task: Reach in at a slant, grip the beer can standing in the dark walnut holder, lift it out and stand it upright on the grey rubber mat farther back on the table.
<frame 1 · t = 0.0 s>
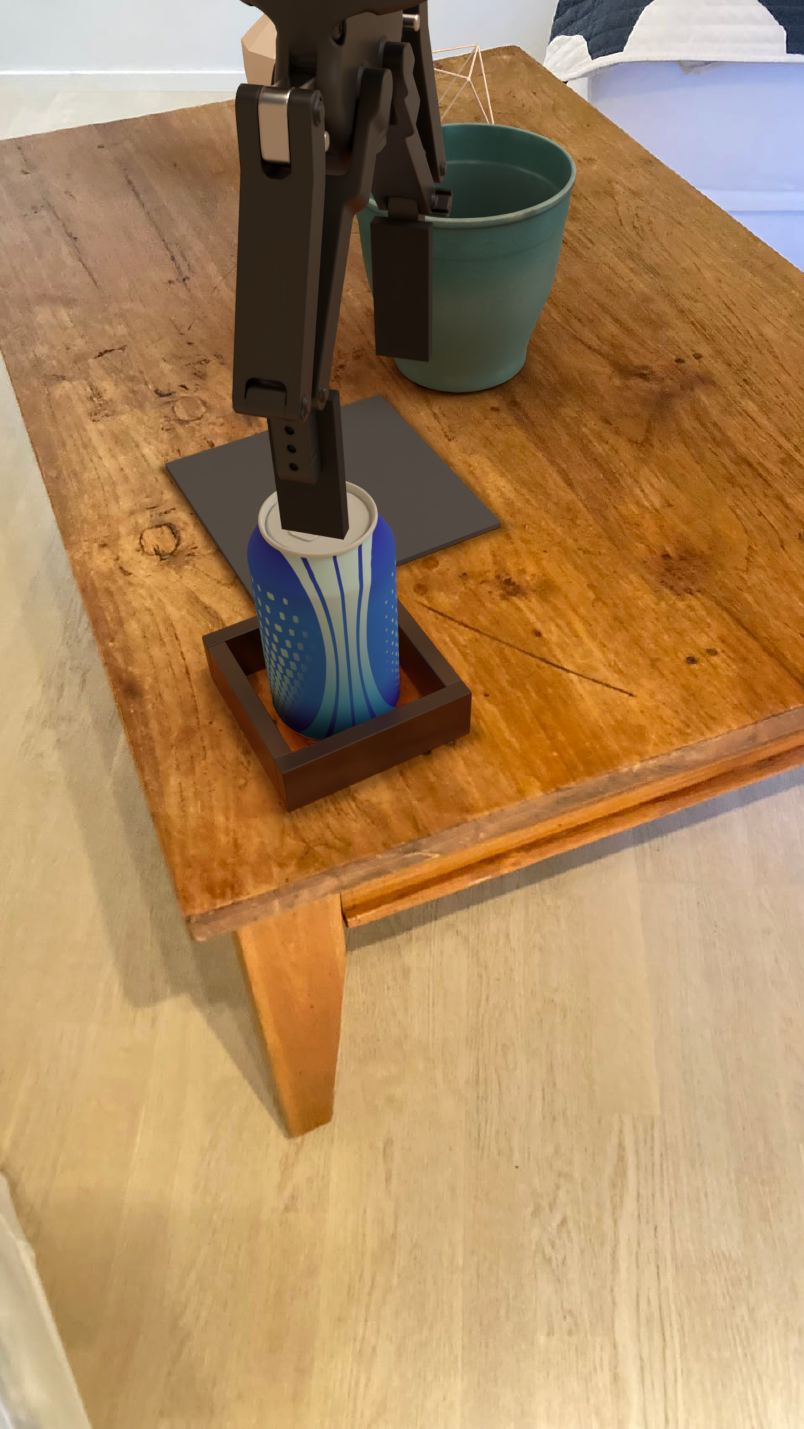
hand: (363, 435, 48), 25 cm above the table, tool pointing down, fingers open, 13 cm apart
rubber mat: (327, 496, 84), on the table
flower pot: (457, 361, 97), on the table
beer can: (337, 706, 70), resting in can holder
vase: (318, 175, 123), on the table
geometric polyhedron: (445, 144, 128), on the table
can holder: (337, 704, 70), on the table
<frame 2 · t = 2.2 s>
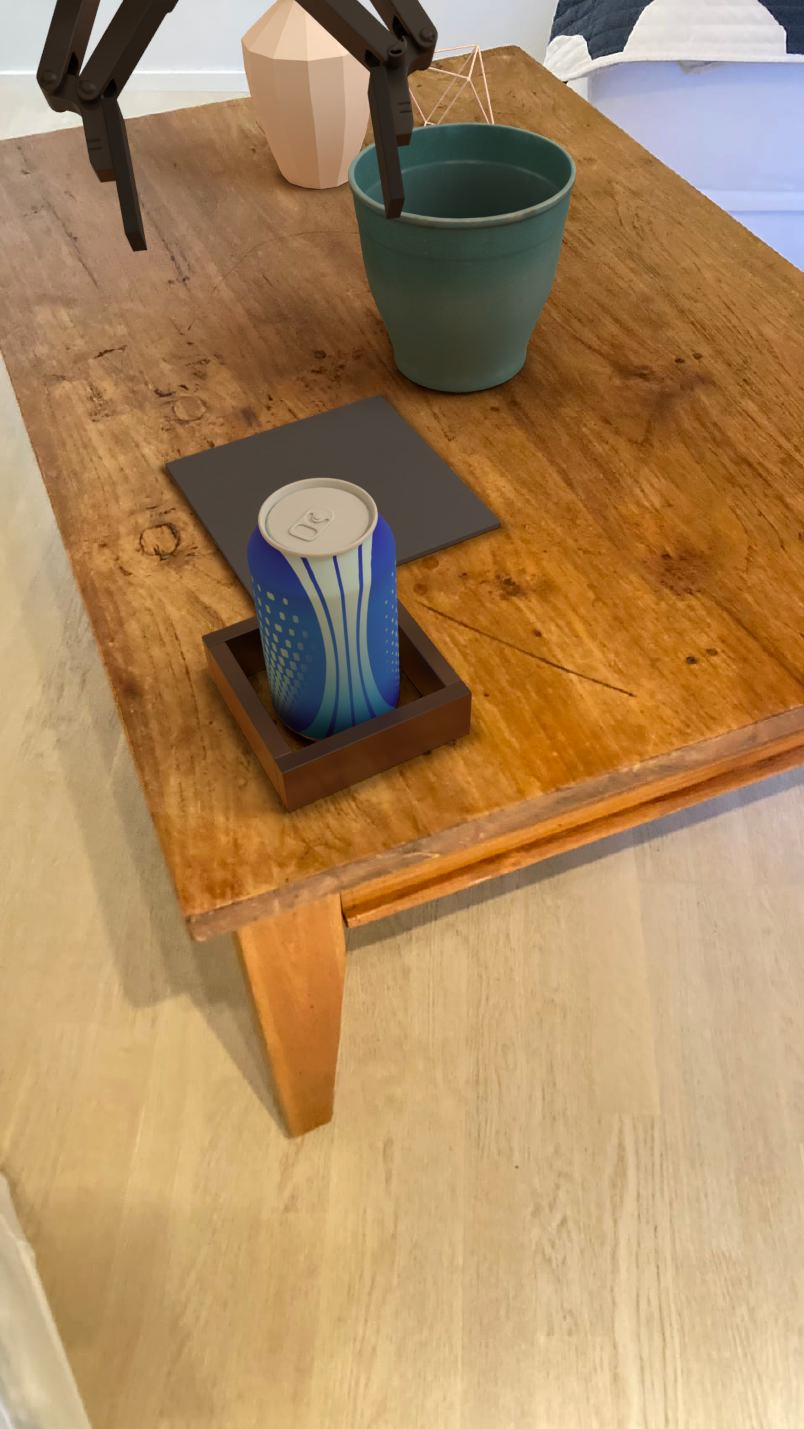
hand: (267, 226, 55), 28 cm above the table, tool tilted 45°, fingers open, 13 cm apart
nothing on the table moved.
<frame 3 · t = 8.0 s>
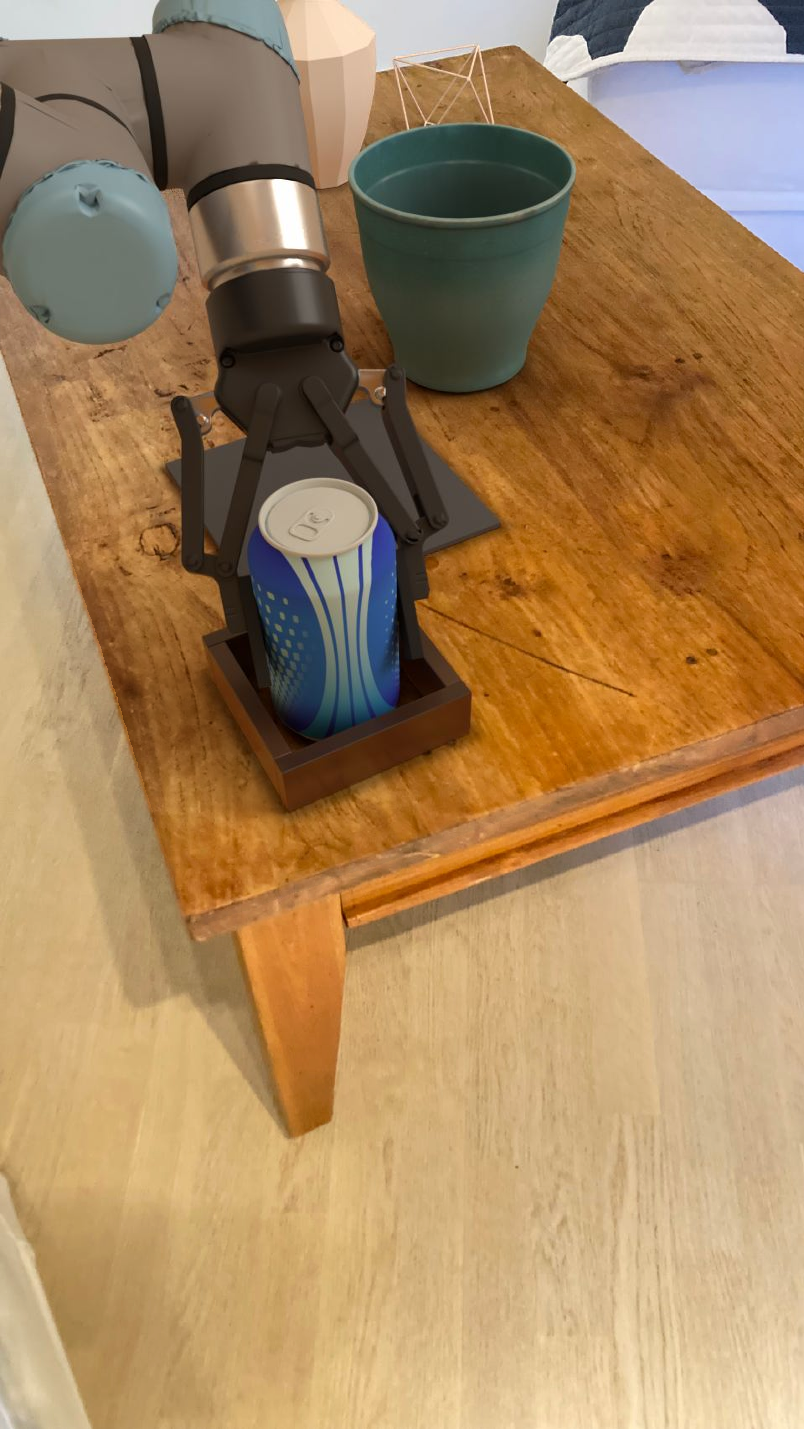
hand: (340, 671, 63), 7 cm above the table, tool tilted 45°, fingers closed on beer can, 8 cm apart
beer can: (337, 705, 70), resting in can holder, touching gripper
everything else where it was.
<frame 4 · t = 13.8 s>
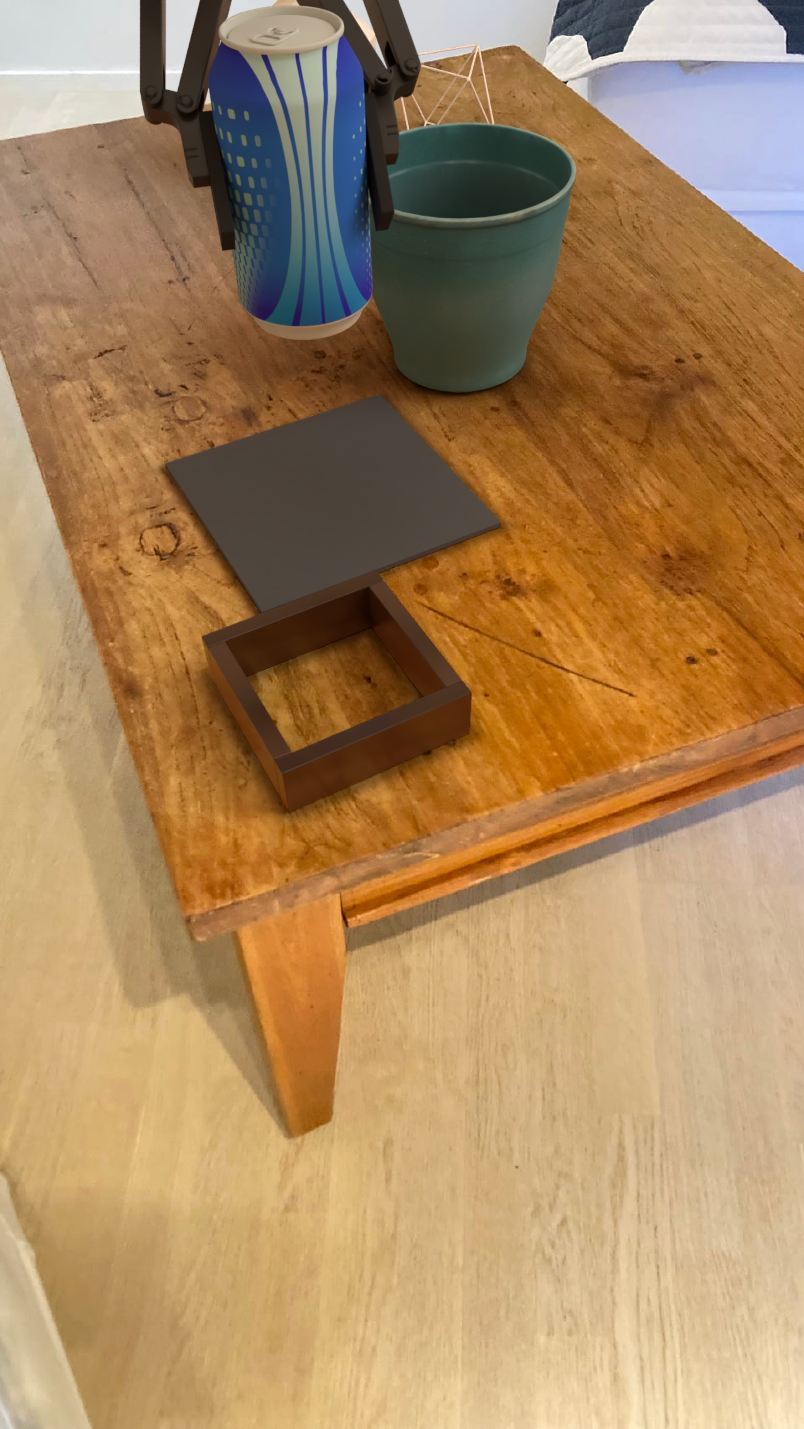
hand: (307, 231, 60), 25 cm above the table, tool tilted 45°, fingers closed on beer can, 8 cm apart
beer can: (308, 314, 68), point 18 cm above the table, touching gripper
everything else where it was.
when the fingers open (7 cm above the table, at t = 19.4 s): beer can stays where it is, resting on rubber mat.
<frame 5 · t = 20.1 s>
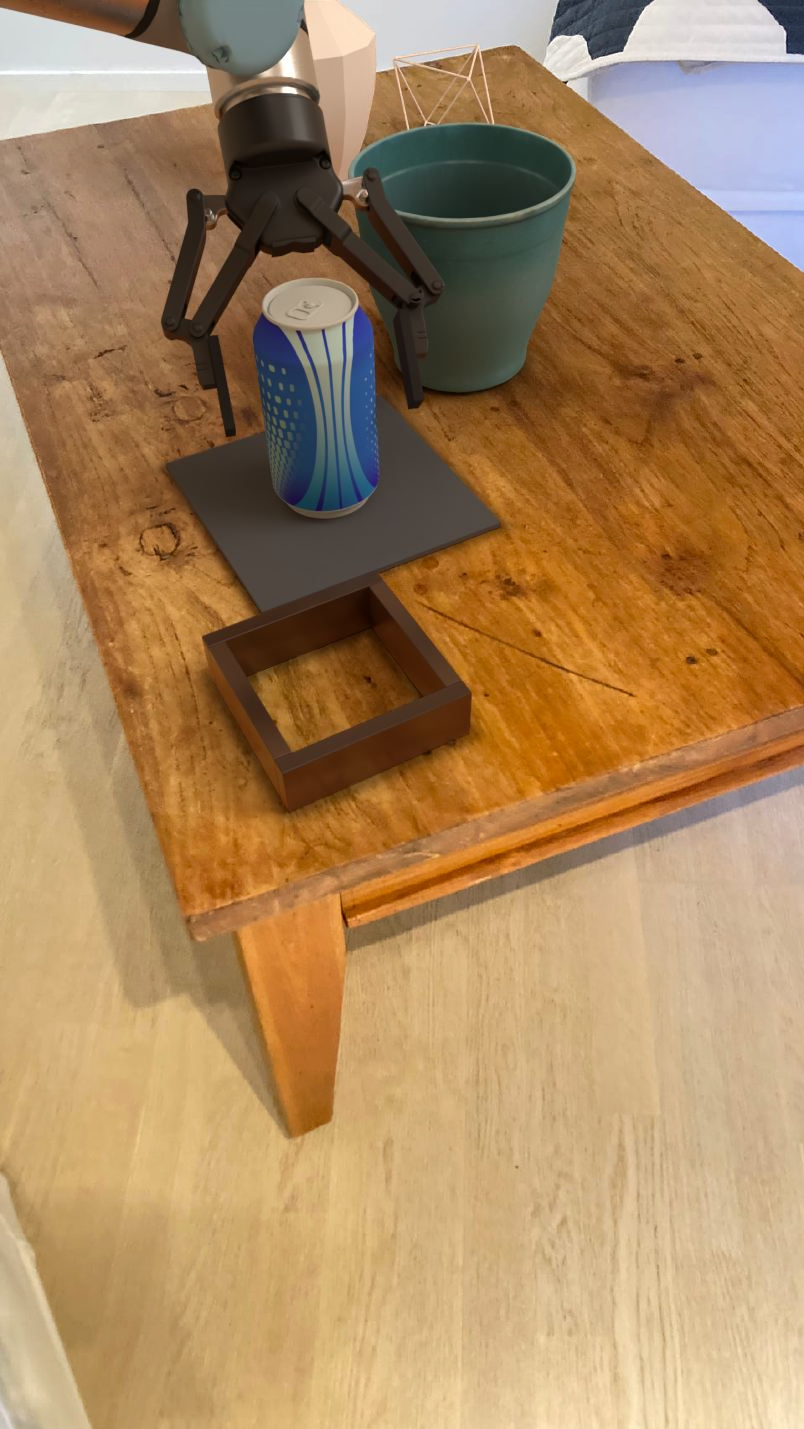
hand: (324, 419, 76), 9 cm above the table, tool tilted 45°, fingers open, 13 cm apart
beer can: (327, 493, 84), resting on rubber mat
everything else where it was.
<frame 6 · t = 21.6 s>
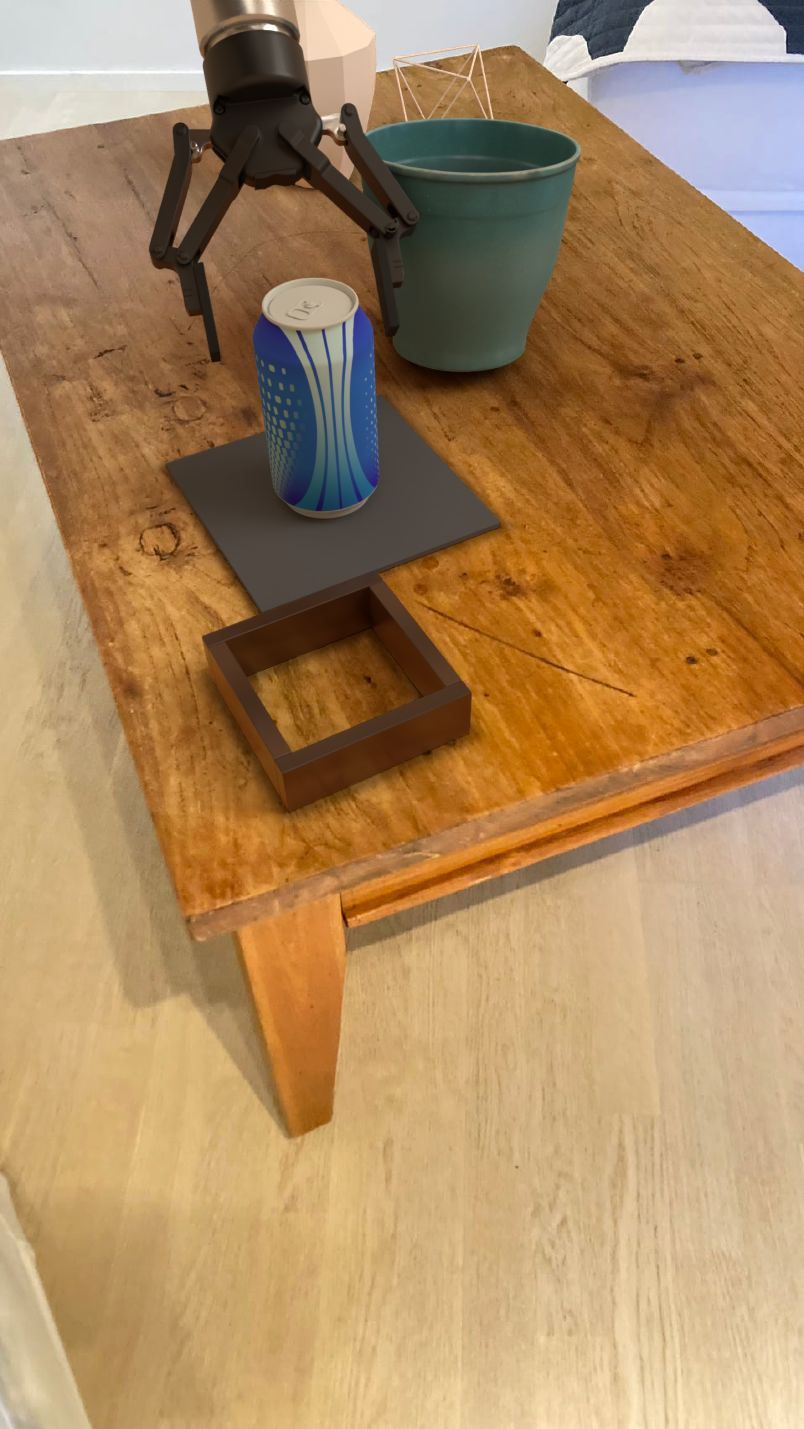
hand: (305, 345, 80), 10 cm above the table, tool tilted 45°, fingers open, 13 cm apart
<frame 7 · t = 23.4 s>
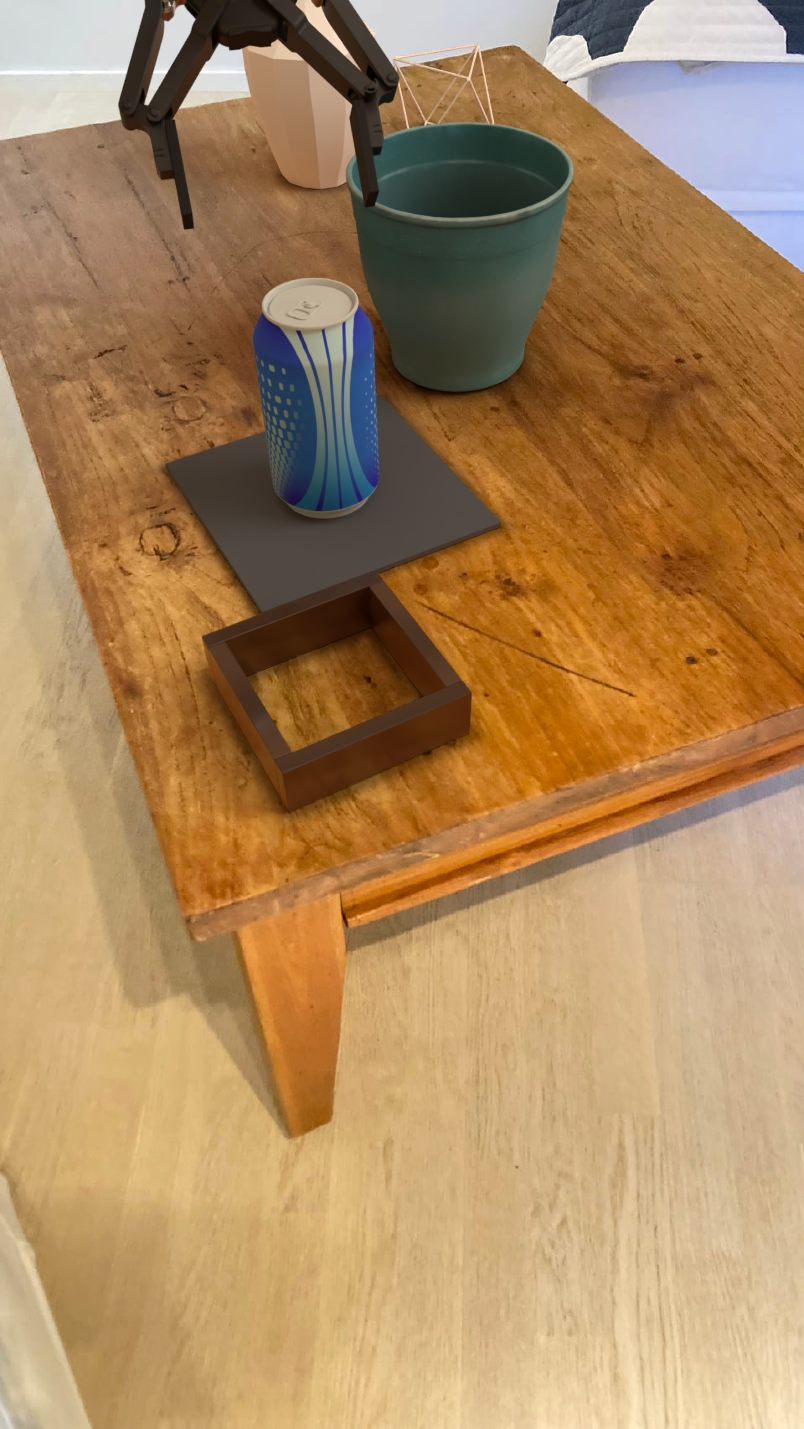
hand: (281, 211, 77), 18 cm above the table, tool tilted 45°, fingers open, 13 cm apart
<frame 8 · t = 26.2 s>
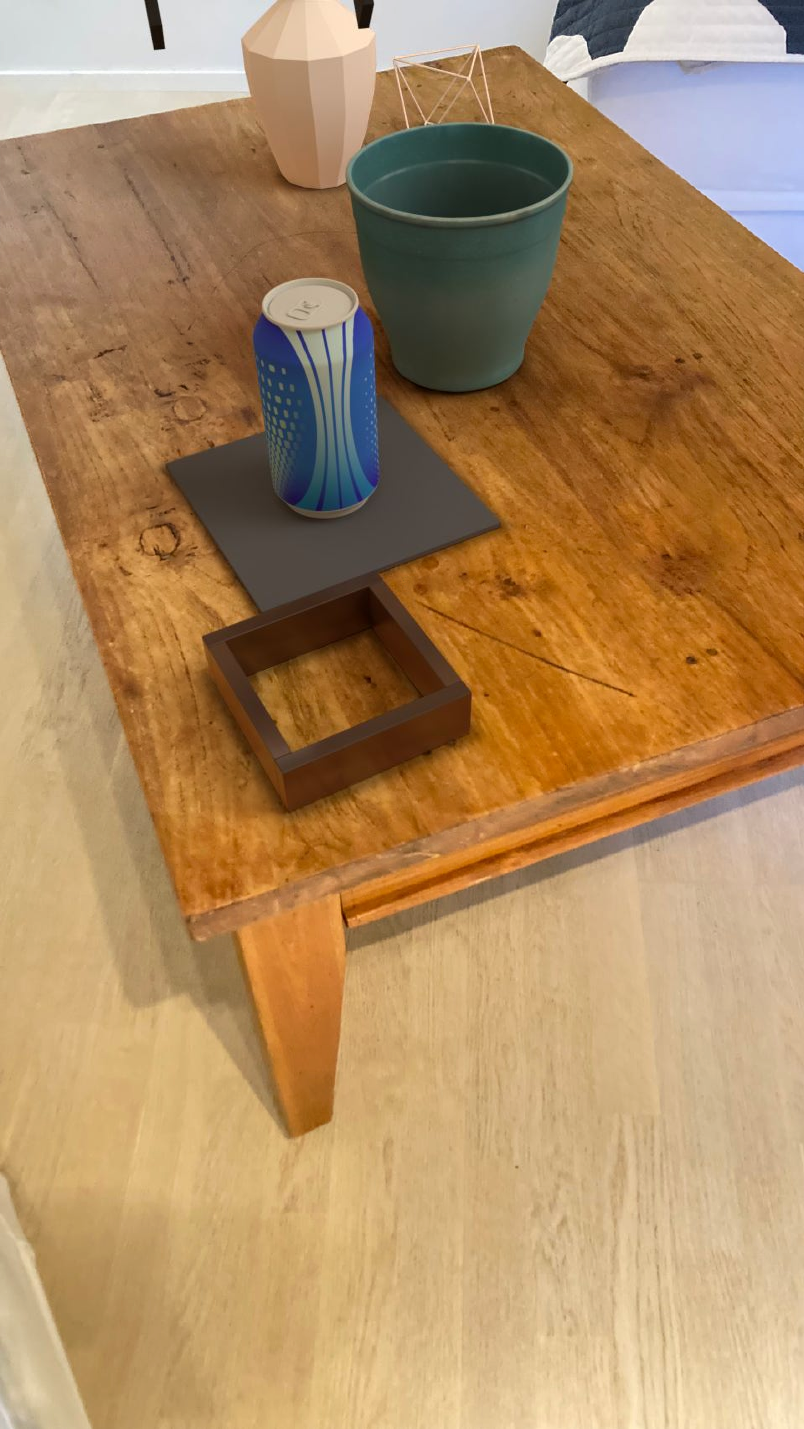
hand: (263, 28, 68), 30 cm above the table, tool tilted 45°, fingers open, 13 cm apart
nothing on the table moved.
at the end: beer can inside the target area on the rubber mat (0.0 cm from its centre), point 0.3 cm above the rubber mat's base; beer can tilted 0°; beer can touching rubber mat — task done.
